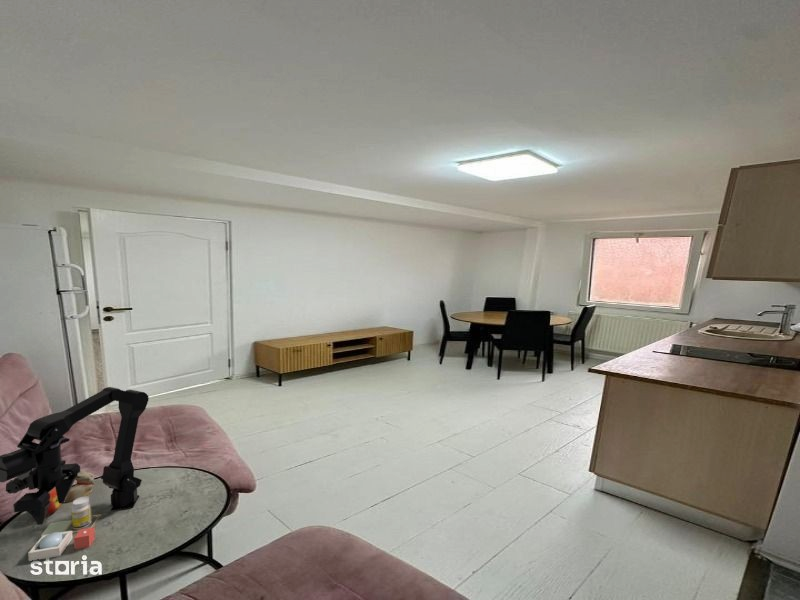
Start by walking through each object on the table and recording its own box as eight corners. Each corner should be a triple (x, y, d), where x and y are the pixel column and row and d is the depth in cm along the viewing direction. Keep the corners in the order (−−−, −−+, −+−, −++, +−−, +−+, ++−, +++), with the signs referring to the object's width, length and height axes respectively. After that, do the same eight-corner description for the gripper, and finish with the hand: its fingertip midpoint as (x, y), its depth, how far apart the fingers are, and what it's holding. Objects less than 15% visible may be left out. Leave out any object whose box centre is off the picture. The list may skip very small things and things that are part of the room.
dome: (66, 540, 111) (65, 530, 110) (57, 552, 106) (56, 542, 106) (46, 543, 109) (45, 534, 109) (36, 555, 105) (35, 546, 104)
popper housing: (72, 538, 112) (72, 530, 112) (59, 555, 106) (59, 547, 105) (43, 542, 110) (43, 535, 110) (28, 561, 103) (28, 553, 103)
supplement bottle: (80, 519, 120) (78, 495, 119) (95, 519, 120) (94, 495, 120) (68, 530, 115) (66, 505, 114) (84, 530, 116) (83, 504, 115)
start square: (101, 515, 122) (101, 514, 122) (90, 530, 116) (90, 529, 116) (74, 519, 120) (74, 518, 120) (62, 534, 113) (62, 533, 113)
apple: (49, 521, 118) (47, 498, 118) (21, 522, 118) (19, 498, 117) (69, 505, 126) (68, 483, 125) (43, 505, 126) (41, 483, 125)
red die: (95, 538, 113) (94, 526, 112) (89, 546, 109) (88, 535, 109) (80, 540, 111) (80, 529, 111) (74, 549, 108) (73, 537, 108)
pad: (72, 520, 119) (72, 520, 119) (63, 533, 114) (63, 532, 114) (51, 523, 118) (51, 523, 118) (40, 536, 112) (40, 535, 112)
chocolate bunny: (93, 496, 131) (92, 469, 130) (63, 503, 127) (62, 476, 126) (95, 488, 136) (94, 462, 135) (66, 495, 132) (65, 468, 130)
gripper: (36, 448, 112) (39, 496, 114) (-15, 485, 94) (-10, 541, 96) (80, 445, 115) (82, 492, 117) (38, 480, 97) (42, 535, 99)
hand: (51, 513), depth 107 cm, fingers open, 9 cm apart
